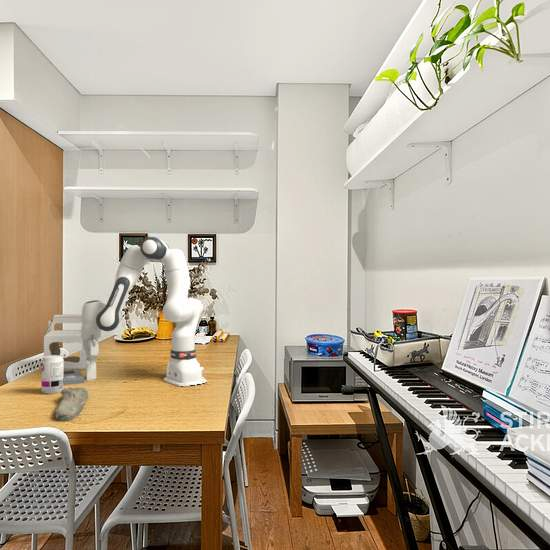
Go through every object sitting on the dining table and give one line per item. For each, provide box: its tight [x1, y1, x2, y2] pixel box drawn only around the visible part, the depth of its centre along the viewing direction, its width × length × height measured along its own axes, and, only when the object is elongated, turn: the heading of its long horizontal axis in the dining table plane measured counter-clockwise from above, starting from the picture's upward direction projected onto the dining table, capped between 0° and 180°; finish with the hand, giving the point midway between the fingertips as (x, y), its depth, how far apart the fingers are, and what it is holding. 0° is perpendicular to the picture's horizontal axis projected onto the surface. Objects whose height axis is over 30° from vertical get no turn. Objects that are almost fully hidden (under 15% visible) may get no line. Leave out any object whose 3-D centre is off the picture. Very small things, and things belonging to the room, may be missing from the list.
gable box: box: [43, 314, 90, 370], centre depth 229 cm, size 22×13×28 cm, turn 99°
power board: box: [63, 369, 85, 386], centre depth 203 cm, size 22×10×2 cm, turn 33°
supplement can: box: [41, 354, 65, 395], centre depth 181 cm, size 8×8×15 cm
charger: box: [85, 361, 97, 381], centre depth 204 cm, size 4×4×8 cm
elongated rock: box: [54, 387, 89, 422], centre depth 163 cm, size 35×5×10 cm
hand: (90, 362), depth 205 cm, fingers open, 8 cm apart
